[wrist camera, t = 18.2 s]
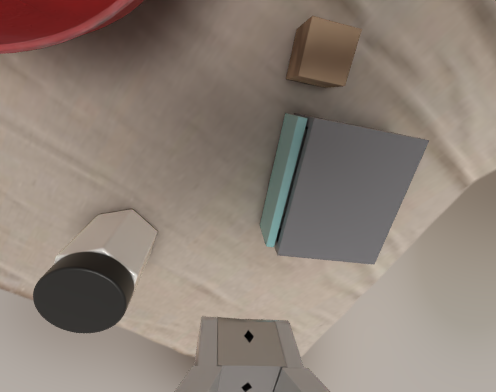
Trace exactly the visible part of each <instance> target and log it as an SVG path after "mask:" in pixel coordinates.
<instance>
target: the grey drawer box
mask: <svg viewBox="0 0 496 392" xmlns="http://www.w3.org/2000/svg"><path fill="white" fill-rule="evenodd" d="M294 115H296V116H300V117H304V118H308V119H307V123H306V127H305V129H308V131H307V135H306V138H305V142H304V146H303V150H302V153H301V157H300V161H299V165H298V169H297V172H296V176H295V180H294V184H293V187H292V191H291V195H290V199H289V202H288V206H287V210H286V214H285V218H284V221H283V225H282V228H279V230H278V234H277V238H276V241H275V245H274V247H275V250H276V252H277V255H280V256H290V257H301V258H311V259H322V260H332V261H343V262H353V263H364V264H375V262H376V260H377V257H378V255H379V253H380V251H381V248H382V246H383V244H384V241H385V239H386V237H387V235H388V232H389V230H390V228H391V226H392V223H393V221H394V219H395V217H396V214H397V212H398V210H399V208H400V205H401V203H402V201H403V199H404V196H405V194H406V192H407V190H408V187H409V185H410V183H411V181H412V178H413V176H414V174H415V171H416V169H417V167H418V165H419V162H420V160H421V158H422V156H423V153H424V151H425V149H426V147H427V144H428V142H429V140H425V139H420V138H415V137H411V136H406V135H401V134H396V133H392V132H387V131H382V130H377V129H372V128H367V127H362V126H357V125H352V124H347V123H342V122H337V121H332V120H326V119H321V118H316V117H311V116H306V115H301V114H296V113H294Z"/></svg>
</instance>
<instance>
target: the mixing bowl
mask: <svg viewBox="0 0 496 392" xmlns="http://www.w3.org/2000/svg"><path fill="white" fill-rule="evenodd" d="M143 1H144V0H0V54H1V53H16V52H23V51H29V50H35V49H42V48H45V47H49V46H52V45H56V44H60V43H63V42H65V41H68V40H71V39H73V38H76V37H78V36H81V35H84V34H87V33H90V32H93V31H95V30H98V29H100V28H103V27H105V26H107V25H109V24H111V23H113V22H115V21H117V20H119V19H121V18H122V17H124V16H125V15H127V14H129V13H130V12H131V11H132V10H134V9H135V8H136V7H137V6H138V5H140V4H141V3H142V2H143Z"/></svg>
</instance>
